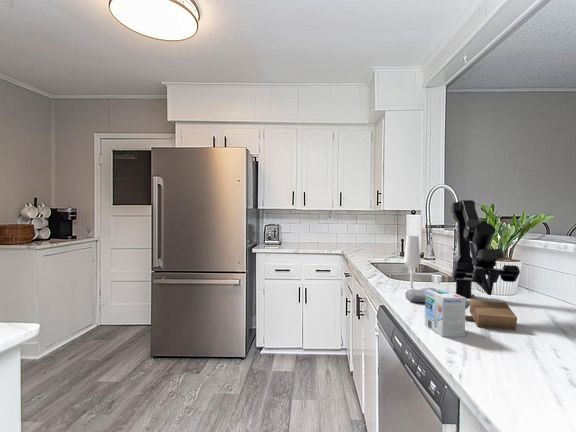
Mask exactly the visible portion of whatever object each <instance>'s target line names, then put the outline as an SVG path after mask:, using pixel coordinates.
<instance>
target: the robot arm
mask: <svg viewBox="0 0 576 432" xmlns="http://www.w3.org/2000/svg"><path fill="white" fill-rule="evenodd" d="M450 213H452V219H453V220H454V221H455V223H456V224H457V248H458V249H457V250H458V251H457V252H458V253H457V254H458V255H457V258H456V260H455V261H454V265H453V267H452V271H451V280H452V281H453V282H455V283H456V284H455V292H454V293H455V294H458V295H460V296H463V297H465V298H467V299H470V298H473V297H475V294H473V293H472V283H476V284H477V285H478V286H479V287H480V288H482V290H484V292H485V293H486V294H487V296H492V293H493V289H494V284H496V283H497V282H498V280H499V277H500V279H501V280H502V282H508V283H514V282H516V281H517V279H518V278H519V275H520V273H521V270H520V267H519V266H518V265H513V264H512V265H511V264H504V265H503V266H502V268H495V267H496V266H497V262H496V261H498V260H503V258H504V256H505V254H504V250H503V248H495V249H491V248H490V247H489V246H490V245H491V244H492V242H493V240H494V236H495V233H496V227H495V226H494V225H493V224H490V223H488V221H487V220H480V218H479V215H478V212H477V209H476V202H475V200H473V199H462V200H459V201H454V202H453V203H452V204H451V206H450Z"/></svg>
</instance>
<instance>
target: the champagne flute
mask: <svg viewBox="0 0 576 432" xmlns="http://www.w3.org/2000/svg"><path fill="white" fill-rule="evenodd" d="M405 238H406V239H405V247H404V256H403V263H404V265H405V266H406V267H407V268H408V269H409V270H410V278H409V281H410V282H409V288H408V289H413V290H416V289H415V288H414V270H415V269H417V268H418V267H419V266H420V264H421V253H420V251H421V250H420V241H419V240H420V239H419V236H418V235H406V237H405ZM408 289H407V288H406V289H405V290H403V291H404V292H406V291H407V290H408ZM404 292H403V293H404Z"/></svg>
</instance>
